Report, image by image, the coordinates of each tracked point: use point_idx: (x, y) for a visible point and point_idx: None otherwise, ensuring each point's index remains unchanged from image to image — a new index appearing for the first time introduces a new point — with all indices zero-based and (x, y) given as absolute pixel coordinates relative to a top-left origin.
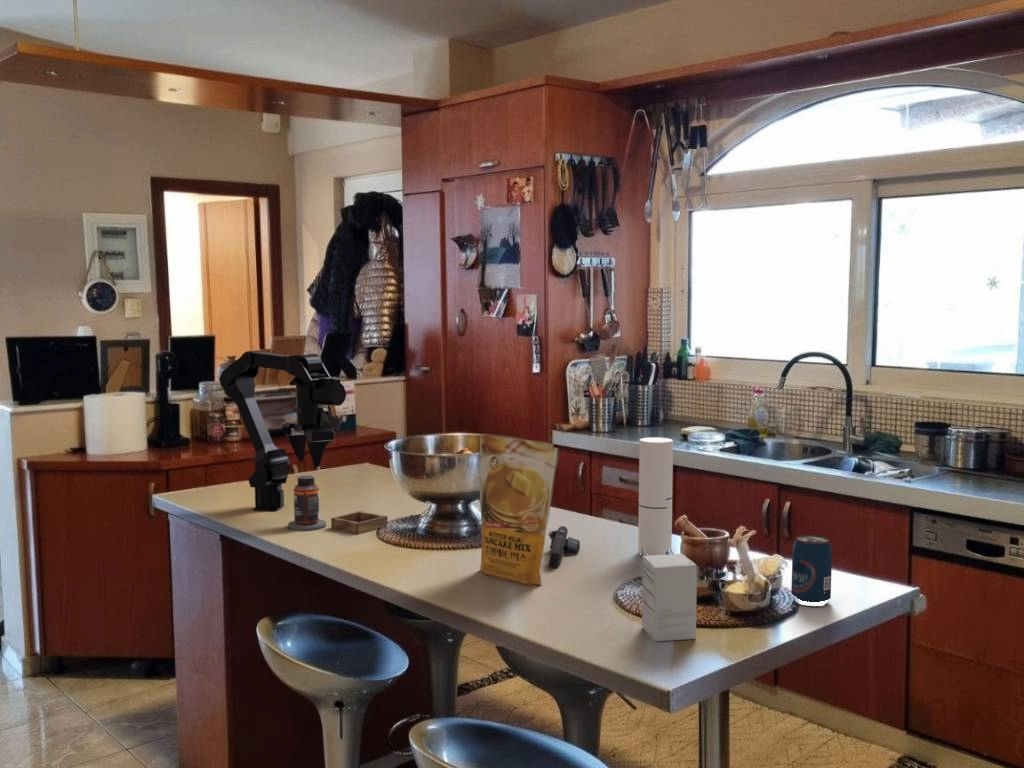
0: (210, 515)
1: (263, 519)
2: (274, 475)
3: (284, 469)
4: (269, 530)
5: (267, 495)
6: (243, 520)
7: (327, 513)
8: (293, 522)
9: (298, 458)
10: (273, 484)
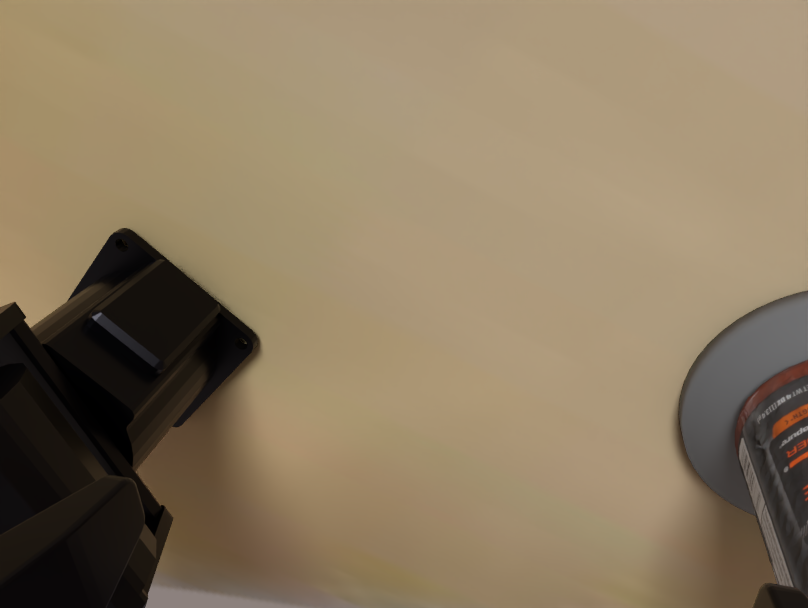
0: (190, 578)
1: (426, 480)
2: (139, 553)
3: (33, 479)
4: (714, 583)
5: (167, 430)
6: (383, 547)
7: (551, 76)
8: (735, 472)
9: (112, 591)
10: (99, 436)
